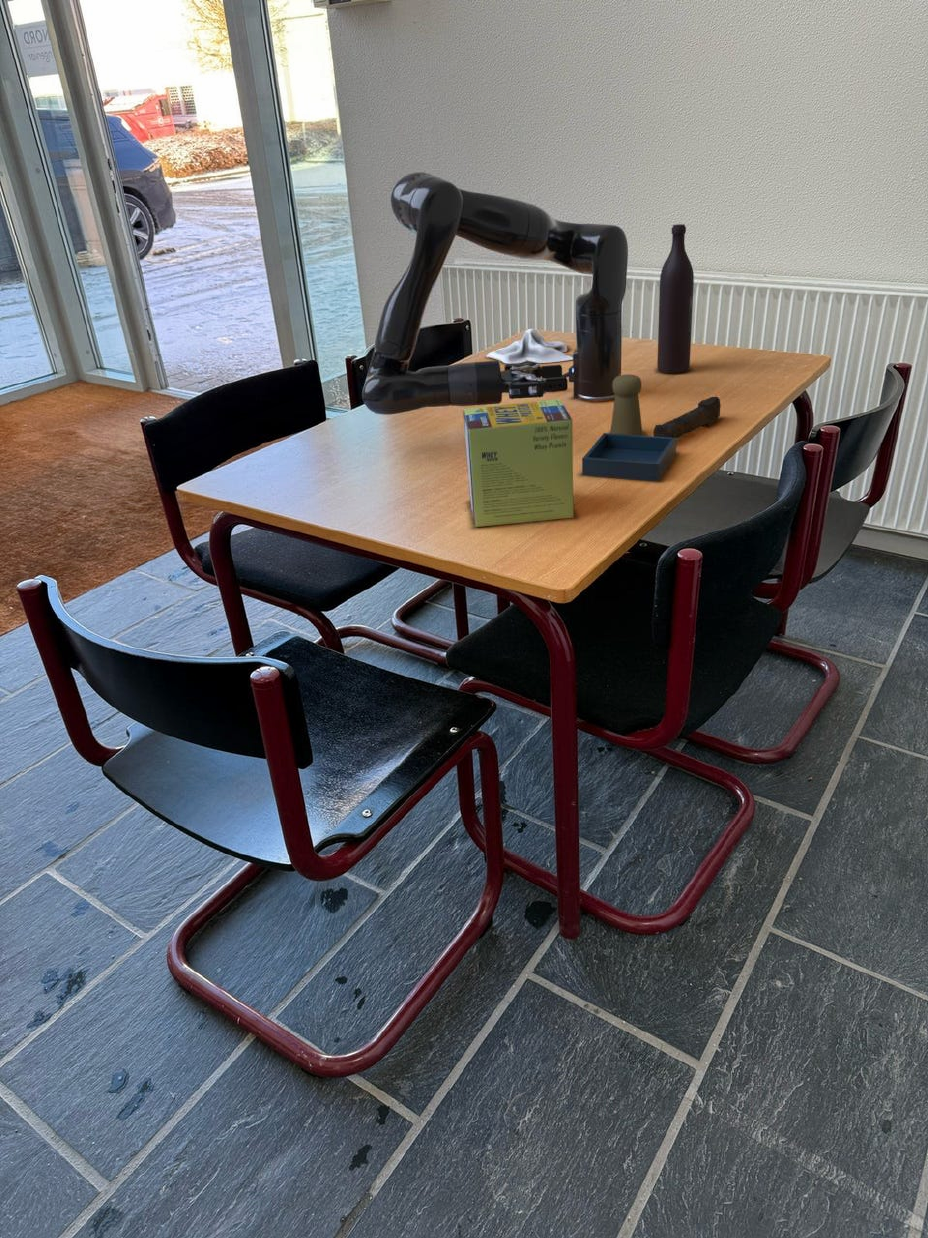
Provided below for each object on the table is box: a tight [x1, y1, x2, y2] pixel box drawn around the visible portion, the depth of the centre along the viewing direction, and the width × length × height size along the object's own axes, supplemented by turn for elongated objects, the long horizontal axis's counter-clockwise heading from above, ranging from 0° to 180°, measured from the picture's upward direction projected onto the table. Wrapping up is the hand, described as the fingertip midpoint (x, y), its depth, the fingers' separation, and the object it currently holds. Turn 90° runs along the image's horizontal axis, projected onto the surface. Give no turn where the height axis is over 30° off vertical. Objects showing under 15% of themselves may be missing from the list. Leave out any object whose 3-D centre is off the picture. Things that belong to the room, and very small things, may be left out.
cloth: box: [486, 328, 573, 365], centre depth 222 cm, size 22×19×6 cm
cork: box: [609, 373, 644, 436], centre depth 165 cm, size 6×6×11 cm
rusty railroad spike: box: [652, 396, 721, 440], centre depth 166 cm, size 19×4×5 cm, turn 132°
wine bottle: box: [656, 223, 695, 375], centre depth 195 cm, size 7×7×30 cm
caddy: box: [581, 432, 677, 482], centre depth 154 cm, size 13×13×3 cm
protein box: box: [462, 398, 575, 528], centre depth 138 cm, size 10×15×16 cm
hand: (564, 376), depth 162 cm, fingers open, 8 cm apart
